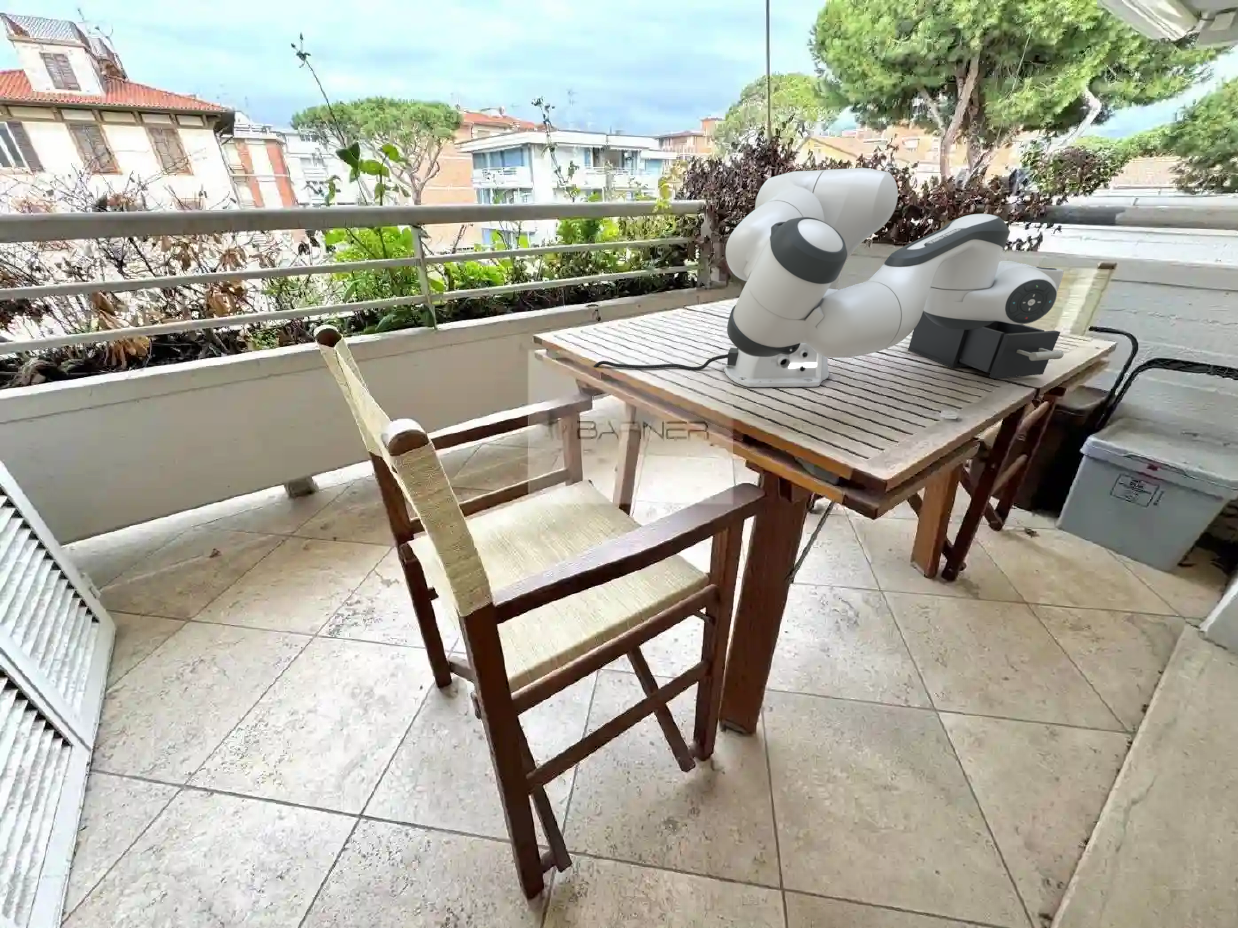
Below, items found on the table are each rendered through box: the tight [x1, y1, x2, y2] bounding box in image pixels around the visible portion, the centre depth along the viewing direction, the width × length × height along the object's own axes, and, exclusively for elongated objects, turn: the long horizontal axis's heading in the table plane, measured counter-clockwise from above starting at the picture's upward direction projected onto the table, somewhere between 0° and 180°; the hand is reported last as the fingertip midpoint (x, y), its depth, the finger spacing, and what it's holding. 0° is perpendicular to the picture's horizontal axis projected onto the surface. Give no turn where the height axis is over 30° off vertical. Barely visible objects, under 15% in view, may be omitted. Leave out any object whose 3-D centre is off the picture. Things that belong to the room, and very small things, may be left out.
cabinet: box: [907, 312, 997, 369], centre depth 113 cm, size 15×13×11 cm
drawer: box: [958, 321, 1064, 379], centre depth 102 cm, size 18×12×9 cm, turn 9°
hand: (983, 276), depth 102 cm, fingers open, 8 cm apart
